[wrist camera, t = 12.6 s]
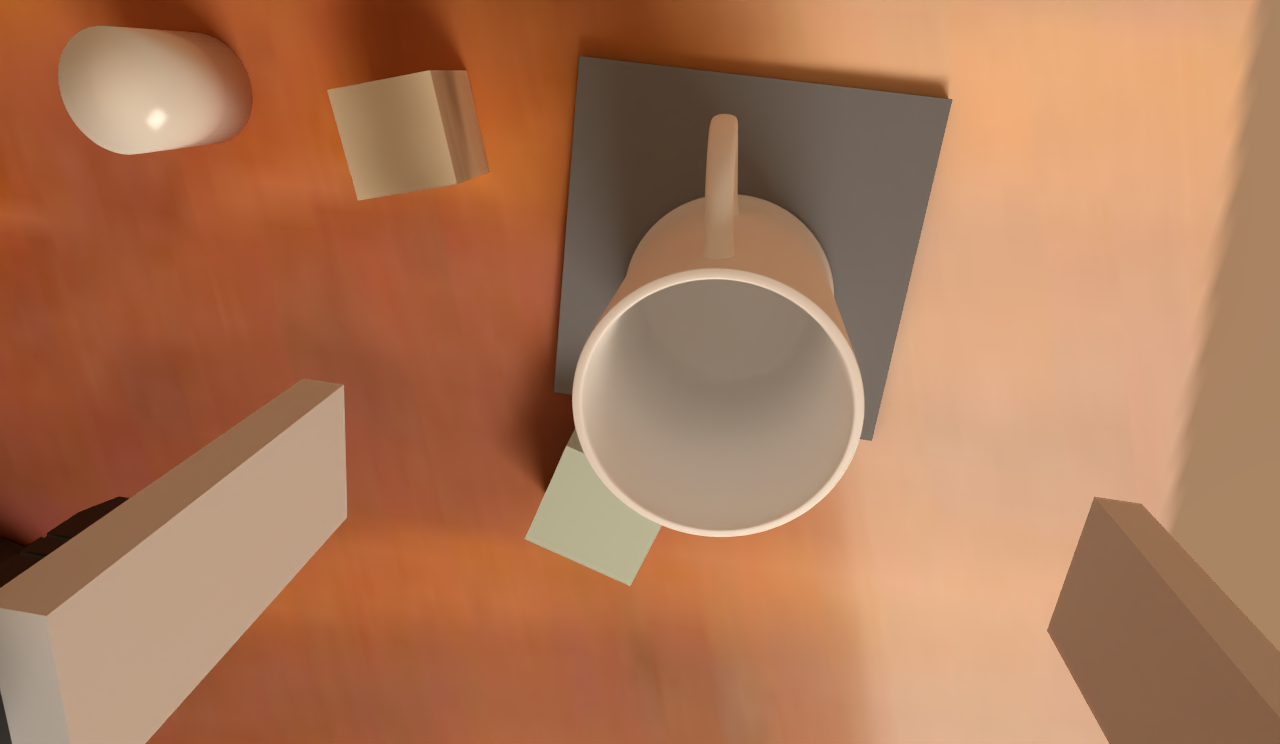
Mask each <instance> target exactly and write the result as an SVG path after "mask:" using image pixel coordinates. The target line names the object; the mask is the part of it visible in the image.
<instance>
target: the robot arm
mask: <svg viewBox="0 0 1280 744" xmlns="http://www.w3.org/2000/svg"><path fill="white" fill-rule="evenodd" d="M346 518H347V492H346V452H345V412H344V385H343V384H336V383H330V382H323V381H316V380H310V379H302V380H300V381H299V382H297V383H296V384H294V385H293V386H292V387H290V388H289V389H287V390H286V391H284V392H283V393H281V394H280V395H279V396H277V397H276V398H274V399H273V400H271V401H270V402H268V403H267V404H266V405H264V406H263V407H261V408H260V409H258V410H257V411H255V412H254V413H253V414H251V415H250V416H248V417H247V418H245V419H244V420H242V421H241V422H239V423H238V424H237V425H235V426H234V427H232V428H231V429H229V430H228V431H226V432H225V433H224V434H222V435H221V436H219V437H218V438H216V439H215V440H213V441H212V442H211V443H209V444H208V445H206V446H205V447H203V448H202V449H200V450H199V451H198V452H196V453H195V454H193V455H192V456H190V457H189V458H187V459H186V460H185V461H183V462H182V463H180V464H179V465H177V466H176V467H174V468H173V469H172V470H170V471H169V472H167V473H166V474H164V475H163V476H161V477H160V478H159V479H157V480H156V481H154V482H153V483H151V484H150V485H148V486H147V487H146V488H144V489H143V490H141V491H140V492H138V493H137V494H135V495H134V496H133V497H131V498H125V497H117V498H114V499H111V500H109V501H106V502H104V503H101V504H99V505H96V506H93V507H91V508H88V509H86V510H83V511H81V512H78V513H77V514H75V515H74V516H72V517H71V518H69V519H68V520H66V521H65V522H63V523H62V524H60V525H59V526H57V527H56V528H54V529H52V530H51V531H49V532H48V533H47V536H46V537H45V538H43V537H40V538H39V539H37V540H36V541H34V542H33V543H31V544H30V545H28V546H27V547H23V546H21V545H19V544H16V543H14V542H11V541H9V540H6V539H3V538H0V744H145V743H146V742H147V741H148V740H149V739H150V738H151V737H152V735H153V734H154V733H155V732H156V731H157V730H158V729H159V728H160V726H161V725H162V724H163V723H164V722H165V721H166V720H167V719H168V717H169V716H170V715H171V714H172V713H173V712H174V711H175V710H176V709H177V707H178V706H179V705H180V704H181V703H182V702H183V701H184V700H185V698H186V697H187V696H188V695H189V694H190V693H191V692H192V691H193V689H194V688H195V687H196V686H197V685H198V684H199V683H200V682H201V680H202V679H203V678H204V677H205V676H206V675H207V674H208V673H209V672H210V670H211V669H212V668H213V667H214V666H215V665H216V664H217V663H218V661H219V660H220V659H221V658H222V657H223V656H224V655H225V654H226V652H227V651H228V650H229V649H230V648H231V647H232V646H233V645H234V643H235V642H236V641H237V640H238V639H239V638H240V637H241V636H242V635H243V633H244V632H245V631H246V630H247V629H248V628H249V627H250V626H251V624H252V623H253V622H254V621H255V620H256V619H257V618H258V617H259V615H260V614H261V613H262V612H263V611H264V610H265V609H266V608H267V606H268V605H269V604H270V603H271V602H272V601H273V600H274V599H275V597H276V596H277V595H278V594H279V593H280V592H281V591H282V590H283V589H284V587H285V586H286V585H287V584H288V583H289V582H290V581H291V580H292V578H293V577H294V576H295V575H296V574H297V573H298V572H299V571H300V569H301V568H302V567H303V566H304V565H305V564H306V563H307V562H308V560H309V559H310V558H311V557H312V556H313V555H314V554H315V553H316V552H317V550H318V549H319V548H320V547H321V546H322V545H323V544H324V543H325V541H326V540H327V539H328V538H329V537H330V536H331V535H332V534H333V532H334V531H335V530H336V529H337V528H338V527H339V526H340V525H341V523H342V522H343V521H344V520H345V519H346ZM1047 631H1048V633H1049V635H1050V637H1051V638H1052V640H1053V642H1054V644H1055V646H1056V647H1057V649H1058V651H1059V653H1060V655H1061V656H1062V658H1063V660H1064V662H1065V664H1066V666H1067V667H1068V669H1069V671H1070V673H1071V675H1072V676H1073V678H1074V680H1075V682H1076V684H1077V686H1078V687H1079V689H1080V691H1081V693H1082V695H1083V696H1084V698H1085V700H1086V702H1087V704H1088V705H1089V707H1090V709H1091V711H1092V713H1093V715H1094V716H1095V718H1096V720H1097V722H1098V724H1099V725H1100V727H1101V729H1102V731H1103V733H1104V735H1105V736H1106V738H1107V740H1108V742H1109V744H1280V652H1279V651H1278V650H1277V649H1276V647H1275V646H1274V645H1273V644H1272V643H1271V642H1270V641H1269V640H1268V639H1267V638H1266V637H1265V636H1264V635H1263V633H1262V632H1261V631H1260V630H1259V629H1258V628H1257V627H1256V626H1255V625H1254V624H1253V623H1252V622H1251V621H1250V620H1249V619H1248V617H1247V616H1246V615H1245V614H1244V613H1243V612H1242V611H1241V610H1240V609H1239V608H1238V607H1237V606H1236V605H1235V603H1234V602H1232V600H1231V599H1230V598H1229V597H1228V596H1227V595H1226V594H1225V593H1224V592H1223V591H1222V590H1221V589H1220V587H1218V585H1217V584H1216V583H1215V582H1214V581H1213V580H1212V579H1211V578H1210V577H1209V576H1208V575H1207V574H1206V573H1205V571H1203V569H1202V568H1201V567H1200V566H1199V565H1198V564H1197V563H1196V562H1195V561H1194V560H1193V559H1192V557H1191V556H1190V555H1189V554H1188V553H1187V552H1186V551H1185V550H1184V549H1183V548H1182V547H1181V546H1180V545H1179V544H1178V542H1177V541H1176V540H1175V539H1174V538H1173V537H1172V536H1171V535H1170V534H1169V533H1168V532H1167V531H1166V530H1165V529H1164V527H1163V526H1162V525H1161V524H1160V523H1159V522H1158V521H1157V520H1156V519H1155V518H1154V517H1153V516H1152V515H1151V514H1150V512H1149V511H1148V510H1147V509H1146V508H1145V507H1144V506H1143V505H1142V504H1139V503H1132V502H1125V501H1119V500H1112V499H1105V498H1098V497H1094V500H1093V503H1092V505H1091V508H1090V511H1089V514H1088V517H1087V519H1086V522H1085V525H1084V528H1083V531H1082V534H1081V536H1080V539H1079V542H1078V545H1077V548H1076V550H1075V553H1074V556H1073V559H1072V562H1071V565H1070V567H1069V570H1068V573H1067V576H1066V579H1065V581H1064V584H1063V587H1062V590H1061V593H1060V596H1059V598H1058V601H1057V604H1056V607H1055V610H1054V613H1053V615H1052V618H1051V621H1050V624H1049V627H1048V629H1047Z"/></svg>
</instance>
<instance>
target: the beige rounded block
mask: <svg viewBox="0 0 1280 744" xmlns="http://www.w3.org/2000/svg"><path fill="white" fill-rule="evenodd" d="M58 81H59V88H60V93H61V96H62V99H63V102H64V105H65V107H66V109H67V111H68V113H69V115H70V116H71V118H72V120H73V121H74V122H75V124H76V125H77V126H78V128H79V129H80V130H81V131H82V132H83V133H84V134H85V135H86V136H87V137H88V138H89V139H91V140H92V141H93V142H95V143H96V144H98V145H99V146H101V147H103V148H105V149H107V150H109V151H112V152H115V153H120V154H140V153H147V152H155V151H162V150H170V149H177V148H185V147H192V146H200V145H207V144H215V143H221V142H225V141H228V140H230V139H232V138H233V137H235V136H236V135H238V134H239V133H240V132H241V131H242V129H243V128H244V127H245V125H246V123H247V122H248V119H249V117H250V114H251V110H252V88H251V84H250V80H249V77H248V74H247V72H246V70H245V68H244V66H243V64H242V63H241V61H240V59H239V58H238V57H237V55H236V54H235V53H234V52H233V51H232V50H231V49H230V48H229V47H228V46H227V45H225V44H224V43H223V42H221V41H220V40H218V39H216V38H214V37H212V36H210V35H207V34H204V33H198V32H185V31H171V30H157V29H143V28H129V27H115V26H92V27H89V28H85V29H83V30H81V31H79V32H78V33H77V34H75V35H74V36H73V37H72V38H71V39H70V40H69V41H68V43H67V44H66V46H65V47H64V50H63V52H62V54H61V57H60V61H59V67H58Z"/></svg>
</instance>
